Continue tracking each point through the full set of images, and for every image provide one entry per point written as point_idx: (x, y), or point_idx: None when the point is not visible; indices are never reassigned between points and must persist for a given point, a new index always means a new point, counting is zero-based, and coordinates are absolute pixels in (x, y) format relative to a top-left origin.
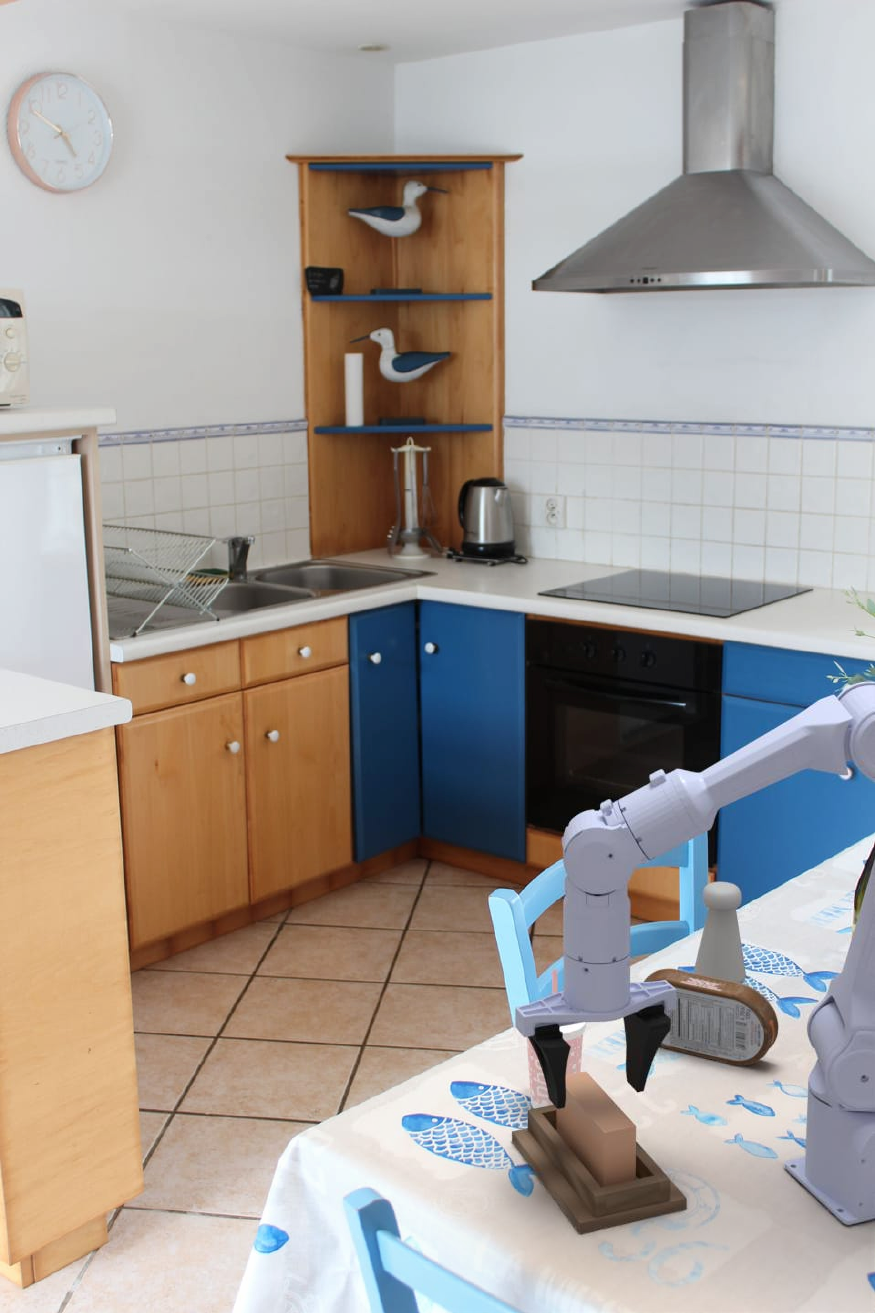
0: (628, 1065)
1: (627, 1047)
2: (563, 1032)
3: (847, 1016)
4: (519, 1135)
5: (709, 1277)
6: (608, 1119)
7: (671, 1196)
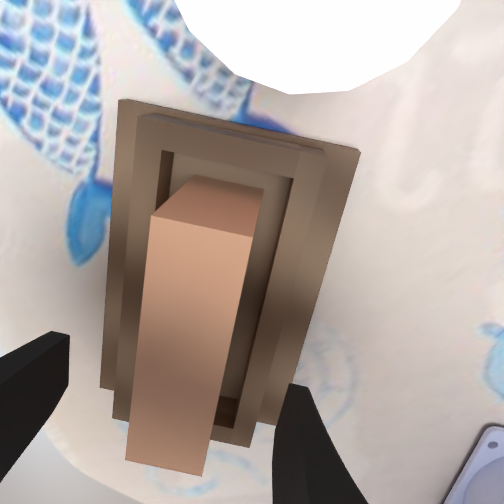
0: (290, 427)
1: (300, 461)
2: (266, 76)
3: None
4: (125, 125)
5: (209, 501)
6: (163, 432)
7: (262, 412)
